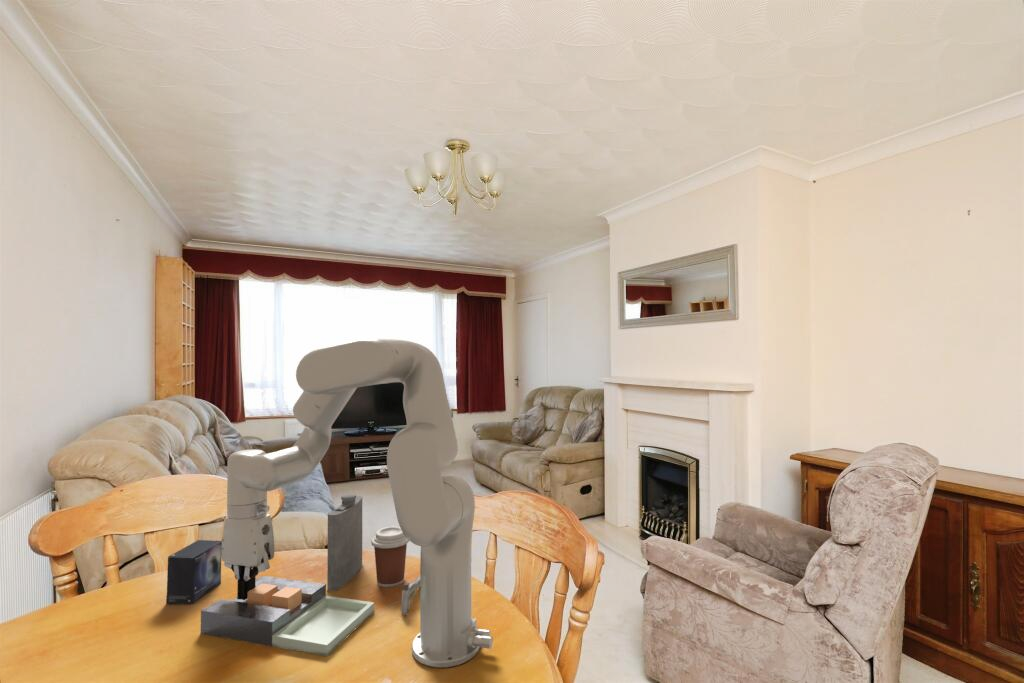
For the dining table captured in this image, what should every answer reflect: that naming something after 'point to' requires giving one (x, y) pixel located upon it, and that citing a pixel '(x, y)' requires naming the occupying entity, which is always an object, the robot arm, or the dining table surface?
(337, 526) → the hip flask
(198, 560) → the small box
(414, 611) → the dining table surface
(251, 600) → the chip
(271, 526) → the robot arm
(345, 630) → the tray
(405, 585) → the caliper
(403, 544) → the coffee cup
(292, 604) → the chip
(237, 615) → the slot block
